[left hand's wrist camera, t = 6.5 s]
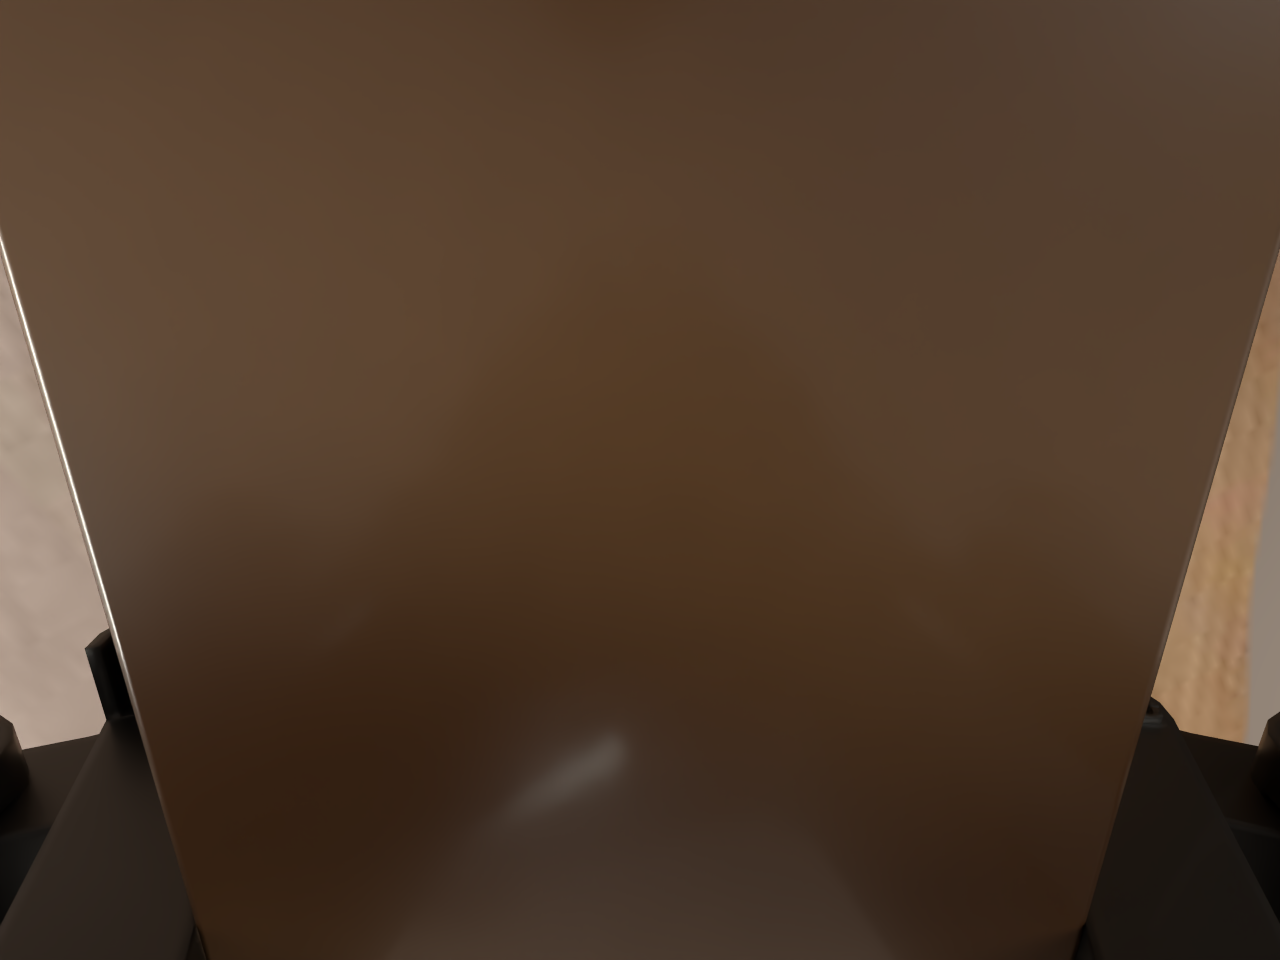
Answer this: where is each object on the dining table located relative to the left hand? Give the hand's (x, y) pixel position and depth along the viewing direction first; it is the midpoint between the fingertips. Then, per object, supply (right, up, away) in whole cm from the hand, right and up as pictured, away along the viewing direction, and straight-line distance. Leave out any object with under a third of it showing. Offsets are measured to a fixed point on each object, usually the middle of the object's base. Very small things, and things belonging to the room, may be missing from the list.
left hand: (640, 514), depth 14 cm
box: (0, +8, -1) cm, 8 cm away
